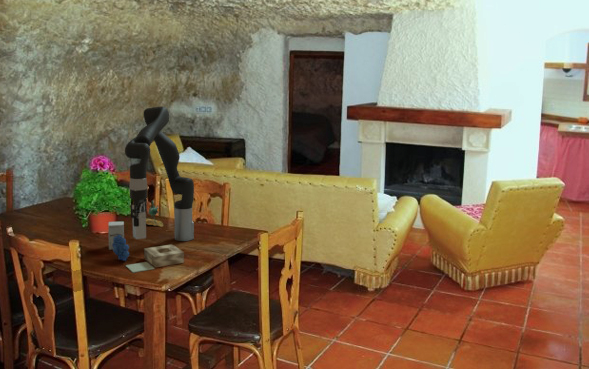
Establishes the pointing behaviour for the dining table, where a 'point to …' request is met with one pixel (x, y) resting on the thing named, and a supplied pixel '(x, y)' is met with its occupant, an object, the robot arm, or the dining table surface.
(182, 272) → the dining table surface
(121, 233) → the supplement box
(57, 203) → the dining table surface
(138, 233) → the peg
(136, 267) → the mat
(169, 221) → the dining table surface
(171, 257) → the holder
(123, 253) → the grapes
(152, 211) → the frog figurine
